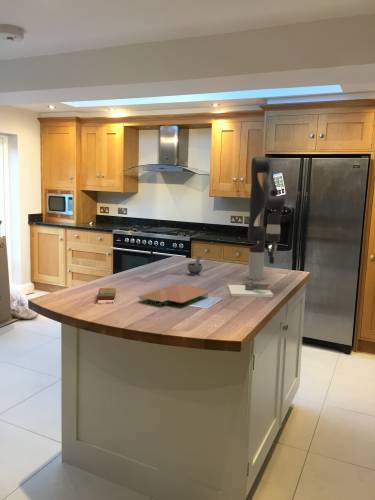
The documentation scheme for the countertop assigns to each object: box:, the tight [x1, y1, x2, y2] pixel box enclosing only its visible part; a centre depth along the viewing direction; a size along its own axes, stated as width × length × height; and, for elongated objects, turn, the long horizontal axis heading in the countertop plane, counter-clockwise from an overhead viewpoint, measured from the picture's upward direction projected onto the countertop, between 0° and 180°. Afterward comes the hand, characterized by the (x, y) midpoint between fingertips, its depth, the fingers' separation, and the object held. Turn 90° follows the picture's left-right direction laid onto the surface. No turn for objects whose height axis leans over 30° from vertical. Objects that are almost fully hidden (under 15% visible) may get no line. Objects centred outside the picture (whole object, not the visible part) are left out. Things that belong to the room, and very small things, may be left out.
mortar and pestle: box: [186, 255, 203, 276], centre depth 276 cm, size 11×9×12 cm
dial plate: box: [227, 284, 274, 298], centre depth 235 cm, size 20×22×2 cm
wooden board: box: [138, 283, 210, 306], centre depth 217 cm, size 23×33×8 cm
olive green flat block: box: [96, 287, 117, 301], centre depth 214 cm, size 8×16×4 cm, turn 7°
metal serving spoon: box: [244, 282, 271, 290], centre depth 235 cm, size 14×5×3 cm, turn 90°
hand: (271, 263), depth 238 cm, fingers closed
